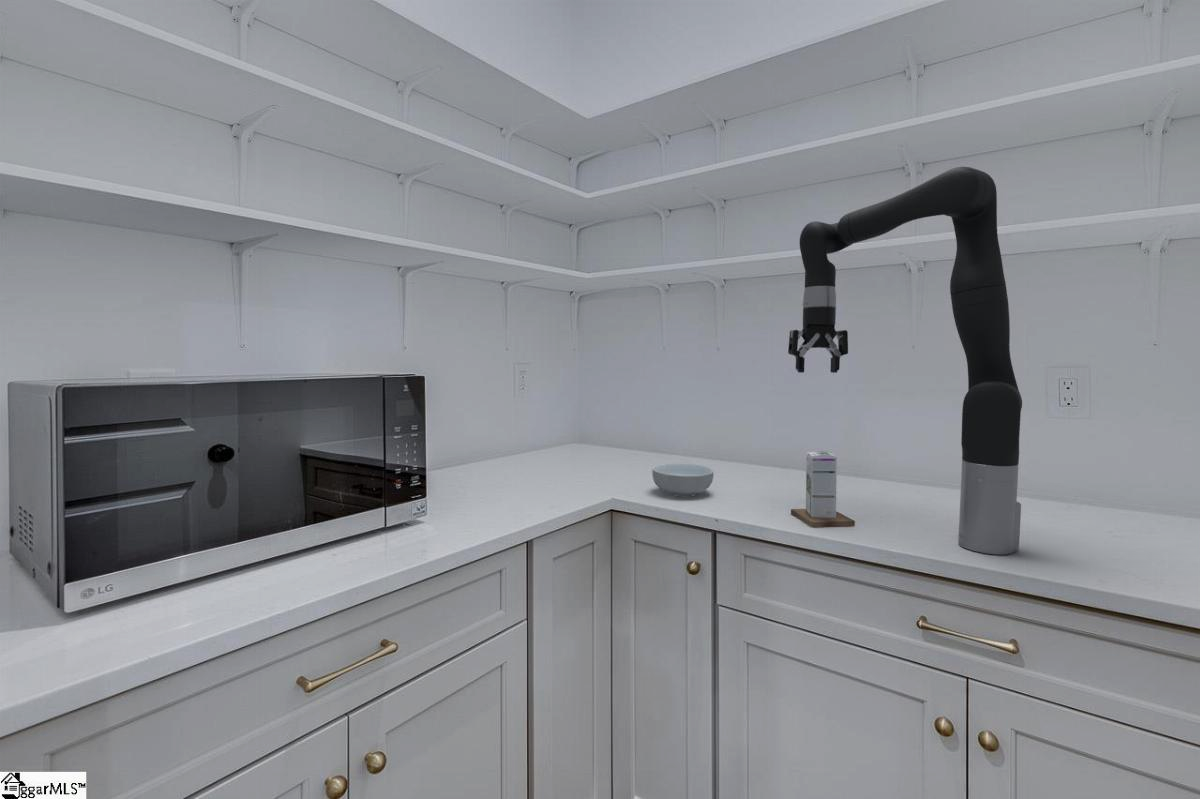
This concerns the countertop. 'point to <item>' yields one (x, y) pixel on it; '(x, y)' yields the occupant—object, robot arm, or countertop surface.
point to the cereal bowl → (682, 478)
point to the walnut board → (822, 519)
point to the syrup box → (821, 484)
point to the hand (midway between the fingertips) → (817, 372)
